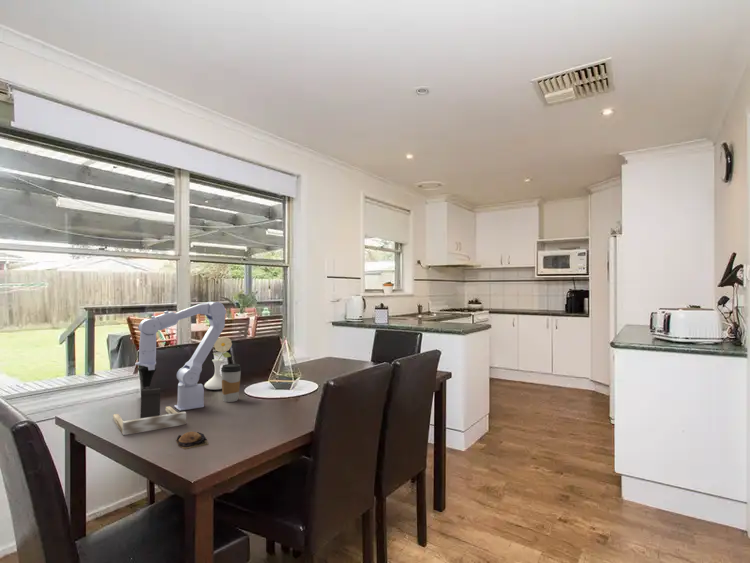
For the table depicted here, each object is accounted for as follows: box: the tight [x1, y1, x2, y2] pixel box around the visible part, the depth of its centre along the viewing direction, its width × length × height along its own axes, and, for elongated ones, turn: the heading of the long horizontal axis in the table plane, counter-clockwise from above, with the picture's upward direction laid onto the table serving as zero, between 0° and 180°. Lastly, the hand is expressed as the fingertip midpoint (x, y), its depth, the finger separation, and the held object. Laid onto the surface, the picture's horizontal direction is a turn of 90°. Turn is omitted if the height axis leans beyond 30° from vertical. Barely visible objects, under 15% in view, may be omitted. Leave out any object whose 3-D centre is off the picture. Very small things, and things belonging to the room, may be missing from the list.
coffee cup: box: [220, 363, 242, 403], centre depth 183 cm, size 8×8×15 cm
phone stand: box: [139, 387, 161, 419], centre depth 151 cm, size 9×6×12 cm, turn 26°
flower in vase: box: [203, 336, 233, 391], centre depth 204 cm, size 13×11×25 cm
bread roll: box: [175, 431, 209, 450], centre depth 133 cm, size 11×8×4 cm
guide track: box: [112, 406, 187, 436], centre depth 153 cm, size 19×22×4 cm
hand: (146, 386), depth 162 cm, fingers closed
